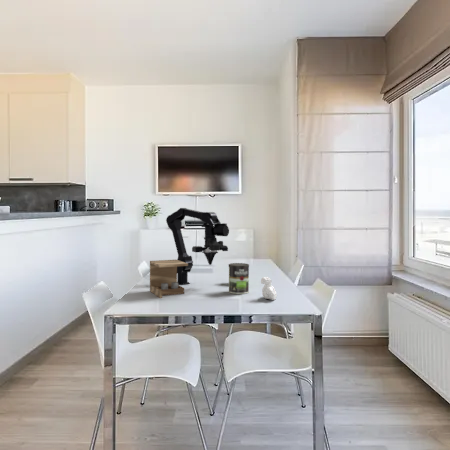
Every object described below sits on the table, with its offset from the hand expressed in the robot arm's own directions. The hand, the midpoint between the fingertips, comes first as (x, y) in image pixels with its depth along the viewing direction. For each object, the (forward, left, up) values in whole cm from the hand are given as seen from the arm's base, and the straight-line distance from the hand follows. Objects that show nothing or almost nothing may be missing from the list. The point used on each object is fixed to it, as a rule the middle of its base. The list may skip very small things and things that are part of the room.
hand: (210, 264), depth 210 cm
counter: (+6, -25, -12) cm, 28 cm away
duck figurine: (+37, +14, -12) cm, 41 cm away
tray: (+6, -24, -12) cm, 28 cm away
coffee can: (+18, +8, -12) cm, 23 cm away
